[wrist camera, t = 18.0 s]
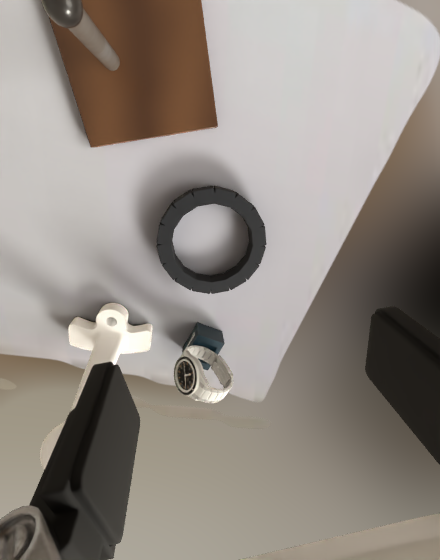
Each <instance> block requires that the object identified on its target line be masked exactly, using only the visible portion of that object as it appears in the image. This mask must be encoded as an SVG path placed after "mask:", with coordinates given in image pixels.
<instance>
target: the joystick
mask: <svg viewBox="0 0 440 560" xmlns="http://www.w3.org/2000/svg"><path fill="white" fill-rule="evenodd" d="M128 317H129V314H128V311H127V309H126V308H125V307H124V306H122V305H120V304H117V303H108V304H106V305H104V306H103V307H102V308H101V310H100V312H99V313H98V315H97V317H96V322H90V321H87V320H85V319H82V318H80V317H75V318H74V319H73V321H72V322H71V324H70V325H69V343H70V344H71V345H72V346H75V347H78V348H82V349H86V350H90V351H92V353H91V356H90V359H89V362H88V364H87V367H86V370H85V372H84V375H83V378H82V380H81V383H80V386H79V388H78V391H77V394H76V397H75V399H74V402H73V404H72V407H71V410H70V412H71V411H72V410H73V409H75V407H76V405H77V402H78V400H79V397H80V395H81V393H82V390H83V388H84V385H85V383H86V381H87V378H88V376H89V373H90V371H91V369H92V367H93V365H95V364H100V363H105V362H112V363H113V364H114V365H115V364H116V362H117V359H118V357H119V354H129V353H139V352H145V351H148V350H149V349H150V344H151V339H152V328H153V327H152V325H151V324H143V325H138V326H132V325H130V324H129V323H128ZM70 412H69V413H70ZM65 422H66V421H65ZM65 422H63V423H61V424H59V425H58V426H57V427H55V428H54V429H53V430H51V431H50V433H49V434H48V435H47V436H46V438H45V440H44V441H43V444H42V446H41V451H40V461H41V465H42V467H43V468H44V470H45V468H46V465H47V463H48V461H49V459H50V456H51V454H52V452H53V449H54V447H55V445H56V442H57V440H58V438H59V435H60V433H61V431H62V428H63V426H64V424H65Z"/></svg>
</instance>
